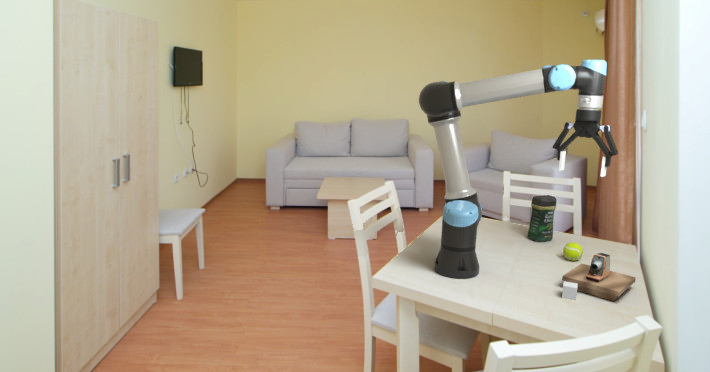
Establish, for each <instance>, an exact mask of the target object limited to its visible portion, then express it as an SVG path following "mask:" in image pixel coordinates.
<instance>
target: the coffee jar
mask: <svg viewBox="0 0 710 372" xmlns="http://www.w3.org/2000/svg"><path fill="white" fill-rule="evenodd" d="M530 206H531V215H530V221H529V226H528V231H527V238H528V239H529V240H531V241H533V242H535V241H536V242H538V243H542V242H544V243H545V242H549V241H552V240H553V237H554V236H553V235H554V215H555V211H556V209H557V198H556V197H555V196H552V195H551V194H550V195H549V194H547V195H546V194H545V195H535V196H532V199H531V204H530Z"/></svg>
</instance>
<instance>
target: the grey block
mask: <svg viewBox="0 0 710 372" xmlns="http://www.w3.org/2000/svg"><path fill="white" fill-rule="evenodd" d="M577 286H578V283H572V282H566V281H563V284H562V292H561V299H567V300H572V301H576V300H577V295H578V290H577Z"/></svg>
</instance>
